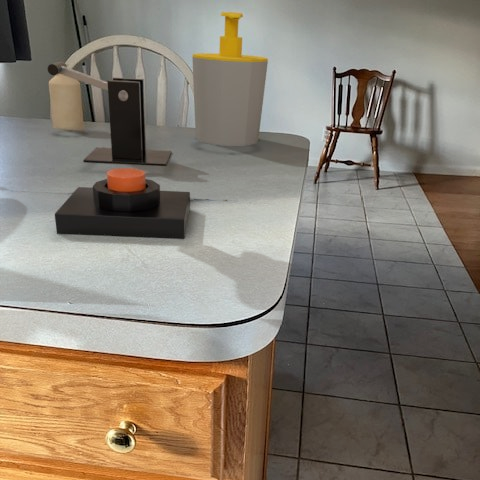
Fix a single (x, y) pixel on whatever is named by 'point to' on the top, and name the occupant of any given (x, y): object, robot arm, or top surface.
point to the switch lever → (76, 75)
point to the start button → (126, 179)
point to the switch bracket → (127, 127)
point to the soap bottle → (228, 91)
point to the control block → (124, 212)
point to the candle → (66, 103)
